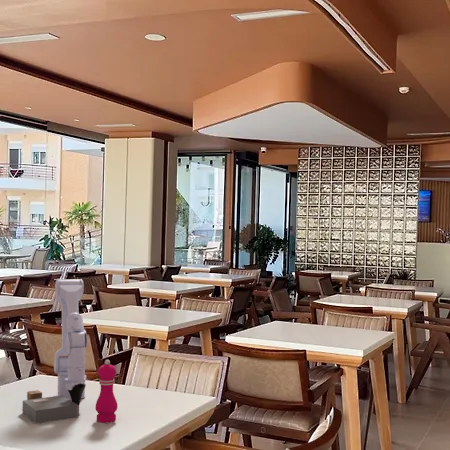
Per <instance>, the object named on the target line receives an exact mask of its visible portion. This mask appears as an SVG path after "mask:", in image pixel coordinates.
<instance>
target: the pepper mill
mask: <svg viewBox="0 0 450 450" xmlns="http://www.w3.org/2000/svg"><path fill="white" fill-rule="evenodd" d="M116 375H117V368H116V367H115V366H114V365H113V364H111V361H110V360H109V359H105V360H104V364H102V365H101V366H99V368H98V370H97V376H98V377H99V385H100V391H99V395H98V398H97V400H96V401H95V411H96V413H97V414H96V422H98V423H102V424H108V423H109V424H110V423H113V422H116V420H117V414H116V412H117V410H118V400H117V399H116V397H115V393H114V384H115V377H116Z"/></svg>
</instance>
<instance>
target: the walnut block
mask: <svg viewBox="0 0 450 450" xmlns="http://www.w3.org/2000/svg"><path fill="white" fill-rule="evenodd" d="M38 398H43V392H42V391H41V390H39V389H38V390H37V389H36V390H30V391H27V392H26V400H31V399H38Z"/></svg>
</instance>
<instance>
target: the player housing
mask: <svg viewBox="0 0 450 450" xmlns="http://www.w3.org/2000/svg"><path fill="white" fill-rule="evenodd" d="M22 414H23V415H24V416H26V418H28V419H29V420H31V421H32V422H33V423H34V424H40V423H41V424H42V423H49V422H55V421H61V420H67V419H68V418H69V419H74V418H77V417H78V416H77V404H75V403H74V402H72V401H71V400H69V399H68V398H66V397H64V396H63V395H61V396H54V395H53V396H49V397H42V398H38V399H31V400H27V399H25V400H22Z"/></svg>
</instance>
